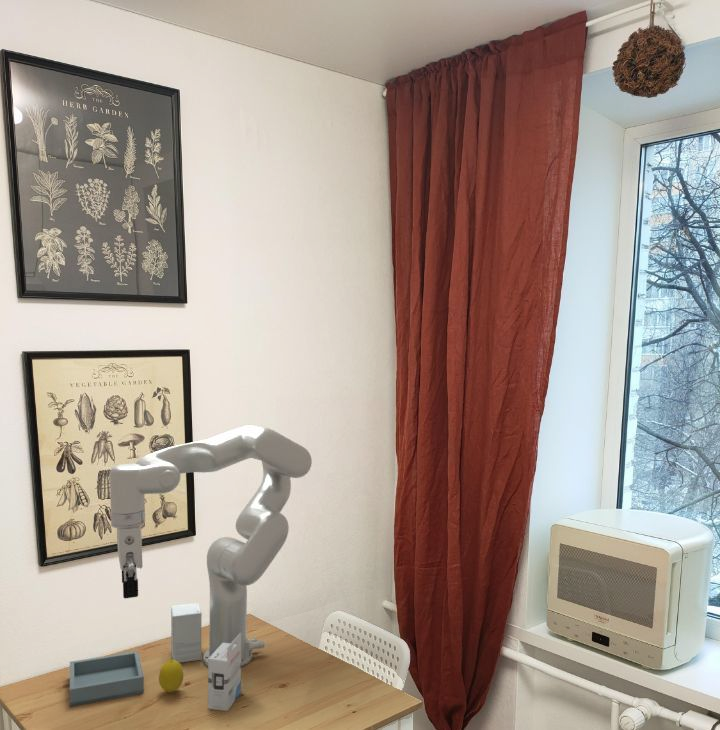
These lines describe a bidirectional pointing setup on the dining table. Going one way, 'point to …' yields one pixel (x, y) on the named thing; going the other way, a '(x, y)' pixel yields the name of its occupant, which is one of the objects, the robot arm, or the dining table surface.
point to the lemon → (171, 675)
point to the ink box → (224, 675)
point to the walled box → (105, 678)
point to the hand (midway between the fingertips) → (129, 589)
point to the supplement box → (186, 632)
